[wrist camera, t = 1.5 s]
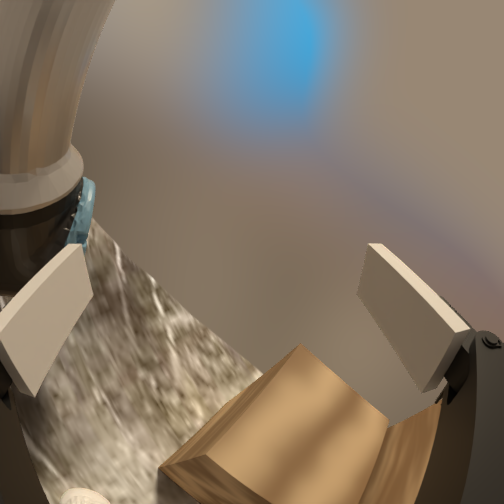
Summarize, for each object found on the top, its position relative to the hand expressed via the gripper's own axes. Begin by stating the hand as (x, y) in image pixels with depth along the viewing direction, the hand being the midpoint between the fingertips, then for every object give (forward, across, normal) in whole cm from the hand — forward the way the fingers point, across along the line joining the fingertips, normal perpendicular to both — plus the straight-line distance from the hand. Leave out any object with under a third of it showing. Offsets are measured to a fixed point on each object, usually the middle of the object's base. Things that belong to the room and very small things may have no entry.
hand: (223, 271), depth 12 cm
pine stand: (0, +5, -34) cm, 35 cm away
